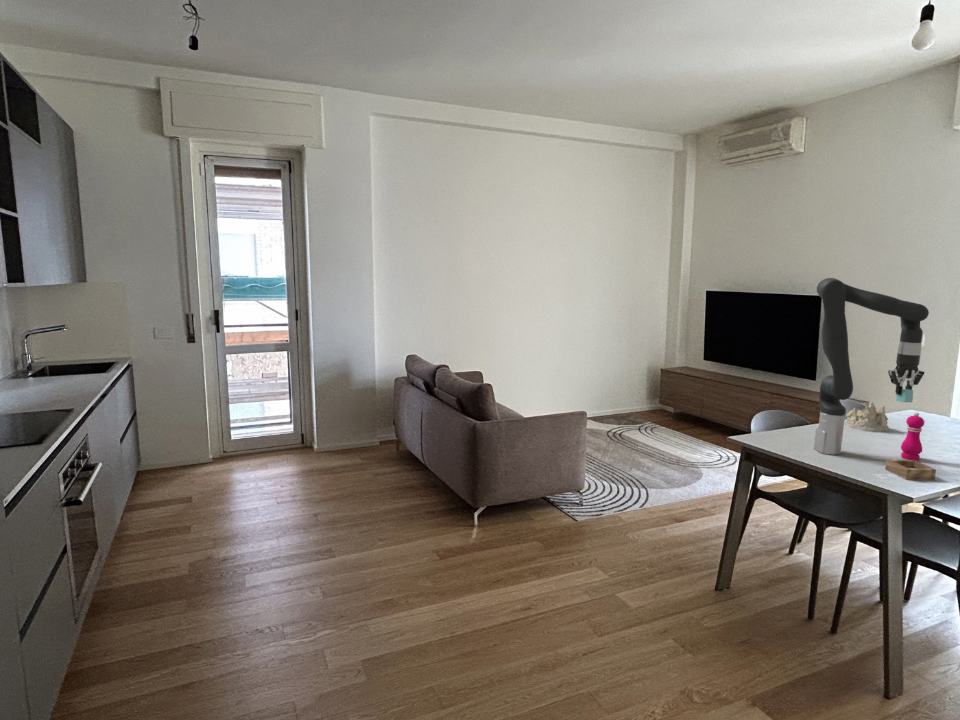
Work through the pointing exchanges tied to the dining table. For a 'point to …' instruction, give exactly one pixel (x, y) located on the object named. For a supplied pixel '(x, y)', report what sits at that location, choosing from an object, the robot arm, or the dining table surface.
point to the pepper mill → (912, 438)
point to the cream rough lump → (868, 419)
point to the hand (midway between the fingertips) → (903, 394)
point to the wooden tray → (910, 469)
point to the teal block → (905, 396)
